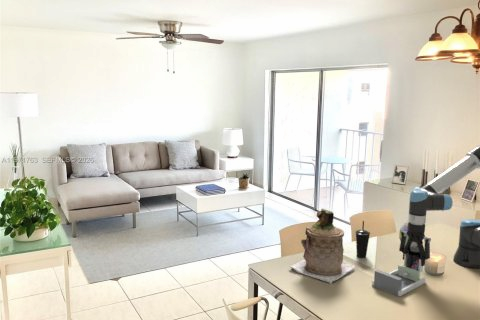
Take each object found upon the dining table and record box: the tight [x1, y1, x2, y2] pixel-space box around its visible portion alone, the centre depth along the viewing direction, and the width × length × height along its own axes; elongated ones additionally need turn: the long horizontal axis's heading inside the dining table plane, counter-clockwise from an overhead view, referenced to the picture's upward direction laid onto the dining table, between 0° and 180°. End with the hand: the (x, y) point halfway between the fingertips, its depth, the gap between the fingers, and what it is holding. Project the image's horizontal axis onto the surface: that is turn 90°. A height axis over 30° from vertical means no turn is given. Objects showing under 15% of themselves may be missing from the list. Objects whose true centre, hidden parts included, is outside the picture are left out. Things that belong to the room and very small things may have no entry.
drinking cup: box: [355, 220, 371, 259], centre depth 221 cm, size 8×8×20 cm
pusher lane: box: [371, 268, 427, 298], centre depth 189 cm, size 22×14×7 cm, turn 129°
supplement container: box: [406, 247, 421, 271], centre depth 195 cm, size 7×7×10 cm
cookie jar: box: [289, 208, 356, 285], centre depth 202 cm, size 25×25×32 cm
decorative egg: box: [398, 220, 420, 248], centre depth 239 cm, size 12×12×15 cm
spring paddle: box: [397, 264, 421, 281], centre depth 193 cm, size 5×10×5 cm, turn 39°
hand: (412, 269), depth 196 cm, fingers closed on supplement container, 7 cm apart
